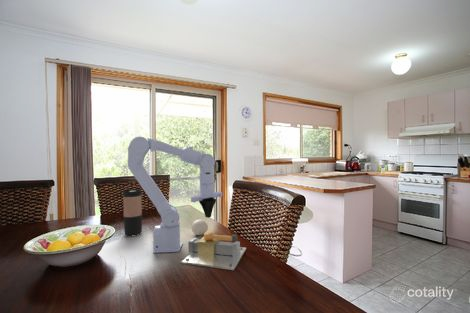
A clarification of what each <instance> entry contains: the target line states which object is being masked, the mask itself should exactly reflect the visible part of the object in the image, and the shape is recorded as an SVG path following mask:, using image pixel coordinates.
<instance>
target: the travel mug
mask: <svg viewBox="0 0 470 313" xmlns="http://www.w3.org/2000/svg"><path fill="white" fill-rule="evenodd" d="M122 194H123V225H124V228H123V229H124V236H125V235H127V236H126V237H133V236H132V235H136V236H138V235H137V234H139V235H141V234H142V233H141V232H143V230H142V229H143V228H142V227H143V226H142V225H143V209H142V208H143V207H142V206H143V205H142V190H141V189H140V188H139V189H138V188H134V189H133V188H132V189H125V190H123V193H122ZM140 233H141V234H140Z"/></svg>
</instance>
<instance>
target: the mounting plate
mask: <svg viewBox="0 0 470 313" xmlns="http://www.w3.org/2000/svg"><path fill="white" fill-rule="evenodd" d="M246 250H247V247H242V246H240V253H239V255H238V256H237V257H232V256H231V255H222V254H215V255H214V256H212V255H203V254H198V252H195V251H194V252H192V253H189V254H188V255H187V256H186V257H185V258H184V259H183V260H181V262H180V263H181V264H183V265H190V266H198V267H204V268H205V267H206V268H212V269H213V268H214V269H220V270H221V269H222V270H230V271H235V269H236V267H237V266H238V264H239V262H240V260H241V259H242V257H243V256H244V253H245V252H246Z"/></svg>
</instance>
